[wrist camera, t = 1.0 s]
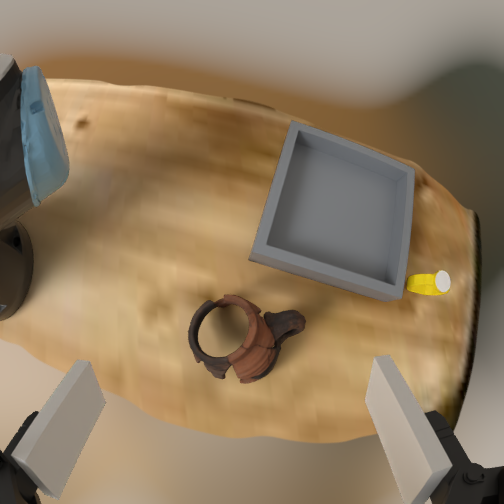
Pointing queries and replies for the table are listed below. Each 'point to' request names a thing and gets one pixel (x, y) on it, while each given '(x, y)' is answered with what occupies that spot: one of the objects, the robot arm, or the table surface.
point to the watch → (429, 283)
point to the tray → (338, 215)
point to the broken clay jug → (248, 340)
